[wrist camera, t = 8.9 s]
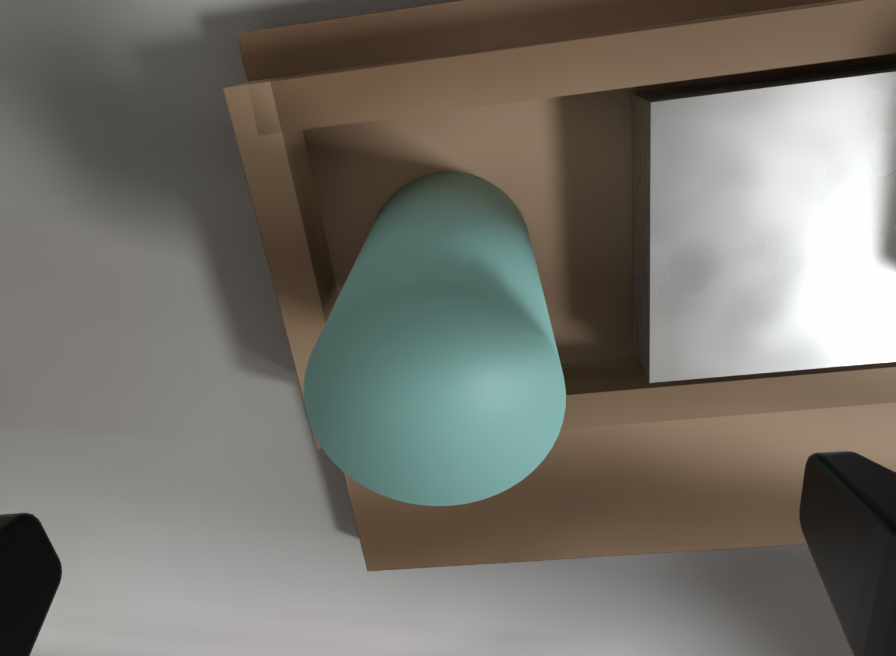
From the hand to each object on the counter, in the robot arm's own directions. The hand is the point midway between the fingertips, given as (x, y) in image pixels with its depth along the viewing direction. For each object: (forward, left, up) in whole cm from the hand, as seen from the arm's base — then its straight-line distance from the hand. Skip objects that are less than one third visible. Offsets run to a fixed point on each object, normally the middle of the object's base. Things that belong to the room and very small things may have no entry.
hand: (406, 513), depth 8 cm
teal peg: (0, 0, -10) cm, 10 cm away
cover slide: (0, -9, -10) cm, 13 cm away
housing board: (-3, -5, -11) cm, 12 cm away
